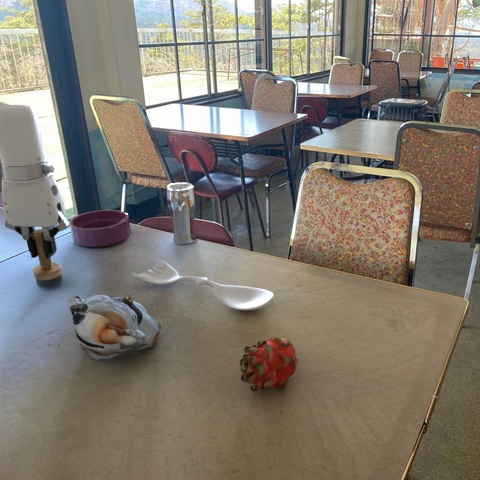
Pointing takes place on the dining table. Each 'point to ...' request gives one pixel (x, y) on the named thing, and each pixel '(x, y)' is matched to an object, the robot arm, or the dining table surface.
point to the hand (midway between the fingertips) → (43, 254)
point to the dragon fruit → (268, 364)
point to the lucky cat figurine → (112, 325)
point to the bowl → (100, 228)
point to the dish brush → (45, 265)
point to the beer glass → (182, 212)
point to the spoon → (228, 294)
